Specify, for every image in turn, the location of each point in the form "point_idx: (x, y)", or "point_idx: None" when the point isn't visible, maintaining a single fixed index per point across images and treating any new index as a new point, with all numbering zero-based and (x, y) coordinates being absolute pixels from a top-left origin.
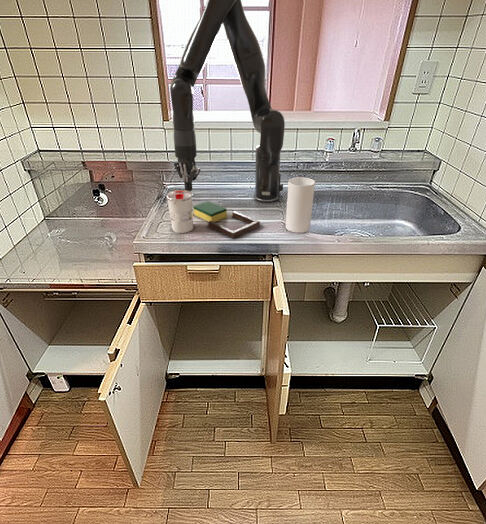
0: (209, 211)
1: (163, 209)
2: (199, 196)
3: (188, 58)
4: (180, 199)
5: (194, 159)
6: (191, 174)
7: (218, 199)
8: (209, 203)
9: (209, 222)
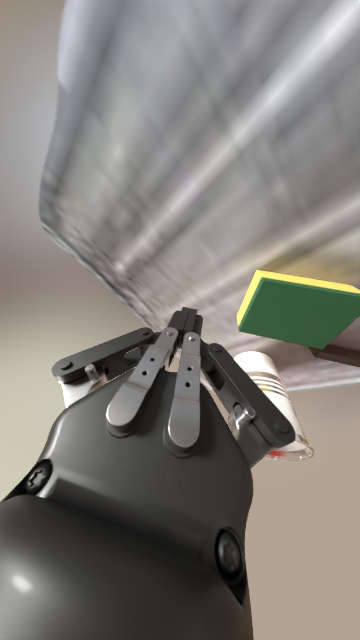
0: (308, 339)
1: (158, 324)
2: (153, 192)
3: None
4: (290, 460)
5: (244, 544)
6: (228, 405)
7: (243, 148)
8: (280, 296)
9: (318, 357)
